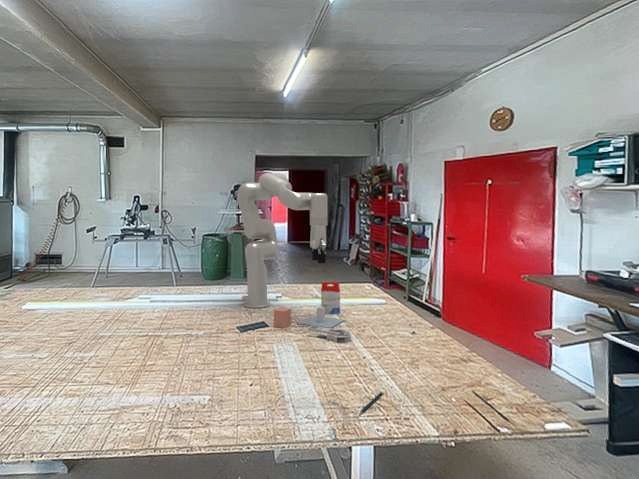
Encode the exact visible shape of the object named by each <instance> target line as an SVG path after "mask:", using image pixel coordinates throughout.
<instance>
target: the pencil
mask: <svg viewBox="0 0 639 479" xmlns="http://www.w3.org/2000/svg"><path fill="white" fill-rule="evenodd" d="M383 395H384V394H383V392H379V393H378V394H377V395H376V396H375V397H374V398H373V399H372V400H371V401H370V402H368V403H367V404H366V405H365V406H364V407H363V408H362V409H361V410H360V411H359V413H358V416H361V415H363V414H364V413H365V412H366V411H368V410H369V408H371V406H373V405H374V404H375V403H376V402H377V401H378V400H379V399H380V398H382V396H383Z"/></svg>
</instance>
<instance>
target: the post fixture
mask: <svg viewBox="0 0 639 479" xmlns="http://www.w3.org/2000/svg"><path fill="white" fill-rule="evenodd" d="M342 323H345V319H343V318H342V319H341V318H335V317H327V316H326V313H325V307H321V306H317V307H316V315H310V316H308V317H305V318H304V319H301V320H299V321H298V322H296V325H298V326H299V325H300V326H306V327H307V326H308V327H310V326H317V327H324V328H331V329H334V328H335V327H337V326H338V325H340V324H342Z"/></svg>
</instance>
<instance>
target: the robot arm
mask: <svg viewBox="0 0 639 479" xmlns="http://www.w3.org/2000/svg"><path fill="white" fill-rule="evenodd" d="M292 189H293V187H292V184H291V183H290V182H289V180H288V177H287V176H286V175H285V174H284V173H279V172H266V173H262V174H261V175H260V176H259V178H258V182H246V183H243V184H241V185H240V186H239V187H238V190H237V194H236V199H237V200H236V201H237V203H238V206H239V209H240V212H241V218H242V224H243V225H242V226H243V230H244V234H245V237H246V238H247V239H250V240H256V239H262V240H256V241H251V242H249V243H248V244H246V246H245V249H244V255H245V260H246V268H247V269H246V270H247V271H246V273H247V274H246V275H247V278H246V279H247V295H242V297H241V300H242V301H245V302H244V306H245V307H246V308H249V309H250V308H251V309H262V308H268V307H270V306H271V302H270V301H269V300H268V269H267V266H266V264H265V261H267V260H273V259H276V258H277V256H278V255H279V252H280V251H279V250H280V249H279V247H280V246H279V242H278V237H277V236H278V235H277V231H276V230H277V229H276V226H275V224H274V222H273V221H272V220H270V219H268V218H261V216H260V211H259V208H258V206H257V205H256V204H255V202H254V201H267V200H268V201H269V200H271V199H273V198H274V197H276V198H277V199H278V201H279V203H280V204H281V205H283V206H285V207H286V208H289V209H291V210H294V211H309V225H310V235H309V236H310V238H309V239H310V241H309V246H310V248H312V249H311V250H312V251H311V257H312V258H311V259H312V261H317V264H326V261H327V260H326V259H327V258H326V257H327V255H326V248H327V226H328V194H327V193H324V192H320V193H319V192H317V193H316V192H295V191H293V190H292Z"/></svg>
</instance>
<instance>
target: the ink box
mask: <svg viewBox="0 0 639 479" xmlns="http://www.w3.org/2000/svg"><path fill="white" fill-rule="evenodd" d="M320 294H321V296H320V297H321V298H320V300H321V302H320V303H321V304H320V305H321V306H320V307H325V315H326V314H331V315H333V314H335V315H336V314H337V315H339V314H340V312H341V287H340V282H339V281H337V282H335V281H331V282H330V281H322V282H321V290H320Z"/></svg>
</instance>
